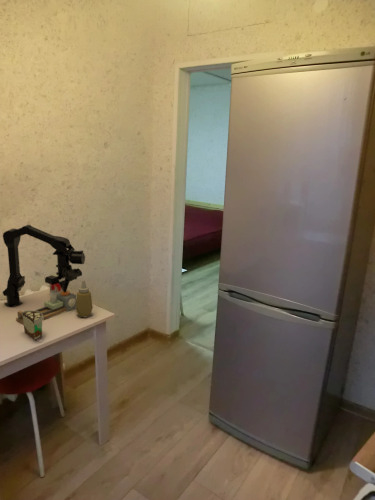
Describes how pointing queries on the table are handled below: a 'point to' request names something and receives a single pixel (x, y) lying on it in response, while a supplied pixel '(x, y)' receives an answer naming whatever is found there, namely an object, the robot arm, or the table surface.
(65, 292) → the brown rounded piece
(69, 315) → the table surface
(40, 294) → the table surface
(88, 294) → the squeeze bottle
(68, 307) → the cabinet
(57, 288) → the soda can
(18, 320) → the slide rail
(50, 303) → the carriage
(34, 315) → the food container
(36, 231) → the robot arm
